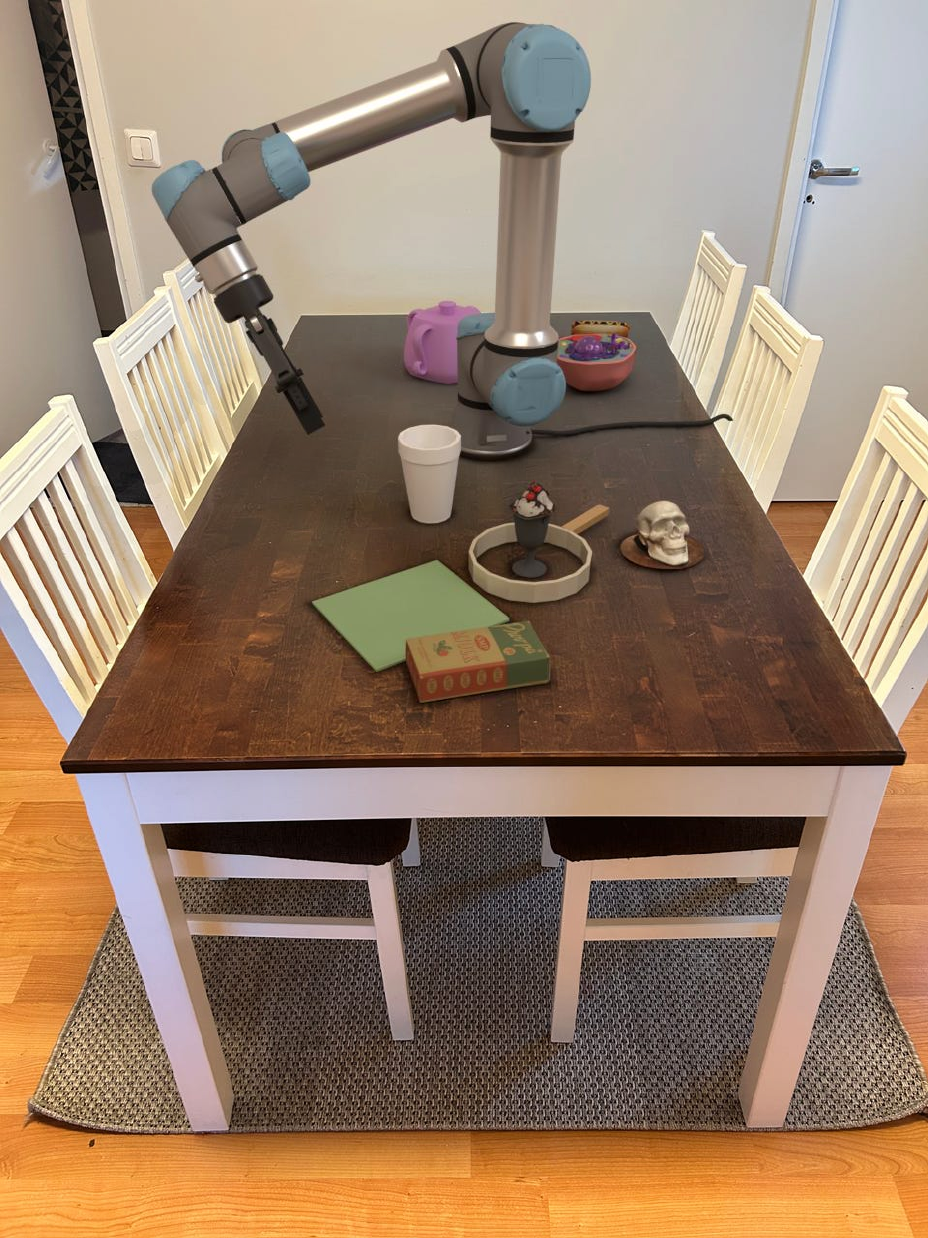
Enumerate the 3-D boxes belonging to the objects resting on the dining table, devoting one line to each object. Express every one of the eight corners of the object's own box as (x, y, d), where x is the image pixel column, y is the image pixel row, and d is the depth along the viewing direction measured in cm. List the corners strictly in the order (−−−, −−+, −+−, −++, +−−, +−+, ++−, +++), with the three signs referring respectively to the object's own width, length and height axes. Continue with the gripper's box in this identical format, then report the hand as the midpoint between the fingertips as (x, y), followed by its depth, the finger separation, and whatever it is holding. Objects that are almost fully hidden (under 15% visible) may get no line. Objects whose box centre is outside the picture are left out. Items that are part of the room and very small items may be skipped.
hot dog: (628, 348, 212) (631, 326, 210) (570, 346, 213) (571, 324, 211) (627, 341, 216) (630, 319, 214) (570, 339, 218) (571, 317, 215)
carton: (405, 664, 115) (404, 635, 112) (528, 644, 118) (530, 616, 116) (420, 705, 108) (419, 676, 106) (550, 683, 112) (552, 655, 109)
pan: (587, 512, 147) (589, 495, 146) (663, 559, 135) (666, 541, 134) (446, 560, 135) (446, 542, 134) (516, 616, 123) (517, 597, 122)
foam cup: (391, 521, 145) (388, 444, 137) (414, 496, 152) (412, 421, 144) (448, 532, 142) (448, 453, 135) (469, 505, 149) (469, 429, 142)
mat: (437, 561, 135) (437, 559, 135) (509, 620, 123) (509, 618, 122) (312, 604, 126) (311, 601, 126) (376, 672, 113) (376, 669, 113)
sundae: (521, 586, 130) (525, 488, 121) (498, 563, 134) (500, 469, 126) (561, 574, 132) (568, 478, 123) (537, 553, 137) (542, 459, 128)
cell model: (648, 379, 196) (654, 325, 189) (608, 410, 182) (613, 353, 176) (576, 364, 203) (580, 312, 197) (532, 393, 189) (534, 337, 183)
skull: (724, 561, 133) (687, 520, 127) (667, 607, 136) (628, 568, 130) (692, 519, 142) (655, 479, 136) (639, 562, 145) (601, 525, 139)
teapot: (404, 355, 208) (401, 290, 200) (496, 353, 209) (498, 288, 201) (405, 387, 192) (402, 317, 184) (505, 384, 193) (507, 314, 185)
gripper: (219, 300, 137) (293, 429, 144) (201, 294, 113) (291, 448, 121) (263, 276, 137) (335, 405, 144) (255, 264, 113) (342, 420, 121)
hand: (315, 425), depth 132 cm, fingers open, 13 cm apart
